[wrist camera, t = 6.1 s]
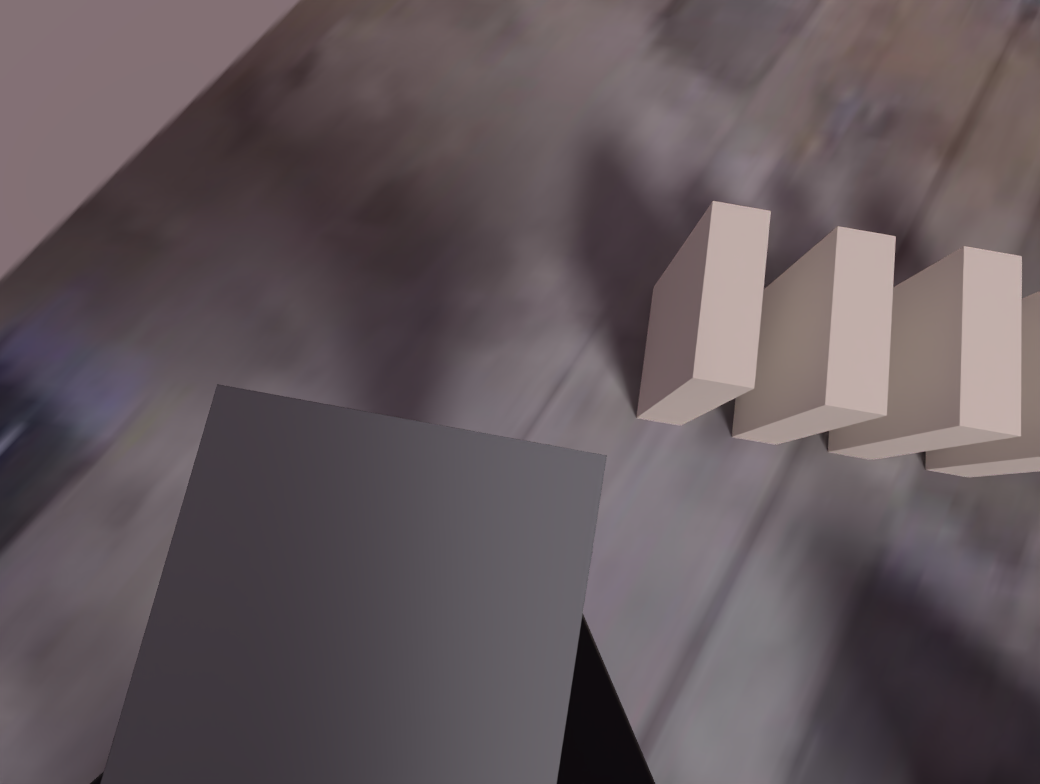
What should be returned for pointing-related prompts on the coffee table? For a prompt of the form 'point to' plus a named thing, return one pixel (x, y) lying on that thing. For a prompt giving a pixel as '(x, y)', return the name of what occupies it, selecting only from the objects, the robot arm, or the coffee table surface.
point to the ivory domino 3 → (949, 360)
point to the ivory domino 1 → (706, 317)
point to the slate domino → (362, 604)
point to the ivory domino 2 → (823, 341)
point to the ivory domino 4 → (1036, 442)
